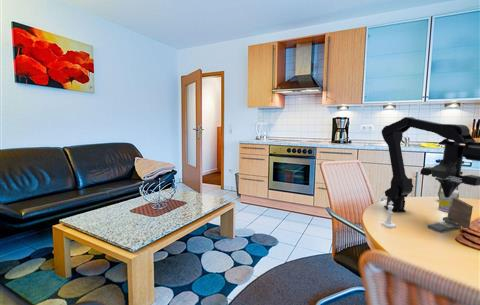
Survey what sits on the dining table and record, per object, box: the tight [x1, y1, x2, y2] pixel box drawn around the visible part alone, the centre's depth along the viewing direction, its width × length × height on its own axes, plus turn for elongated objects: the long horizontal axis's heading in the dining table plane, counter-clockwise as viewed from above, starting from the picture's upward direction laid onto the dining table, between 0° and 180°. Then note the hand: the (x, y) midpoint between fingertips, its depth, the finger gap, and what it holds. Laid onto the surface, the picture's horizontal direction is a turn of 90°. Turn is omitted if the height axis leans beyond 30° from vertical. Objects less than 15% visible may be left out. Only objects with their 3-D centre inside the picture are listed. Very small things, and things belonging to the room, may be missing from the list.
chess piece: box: [380, 201, 396, 229], centre depth 98 cm, size 5×5×10 cm
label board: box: [427, 216, 462, 234], centre depth 100 cm, size 8×18×1 cm, turn 111°
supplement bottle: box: [438, 189, 460, 213], centre depth 116 cm, size 7×7×13 cm
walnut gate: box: [447, 196, 474, 229], centre depth 99 cm, size 2×12×9 cm, turn 166°
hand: (446, 197), depth 97 cm, fingers closed
